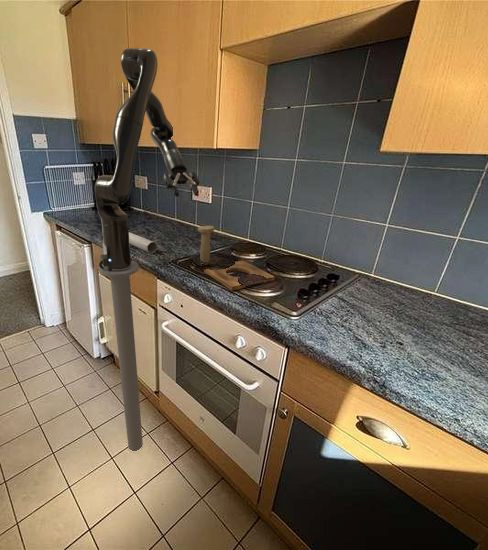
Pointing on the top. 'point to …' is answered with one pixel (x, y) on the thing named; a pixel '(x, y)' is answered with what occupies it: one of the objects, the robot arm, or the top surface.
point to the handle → (205, 242)
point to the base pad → (233, 281)
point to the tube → (142, 243)
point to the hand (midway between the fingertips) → (187, 194)
